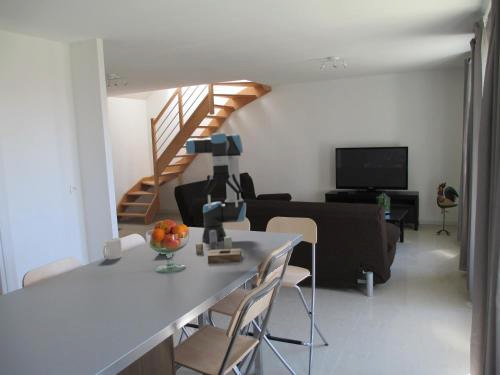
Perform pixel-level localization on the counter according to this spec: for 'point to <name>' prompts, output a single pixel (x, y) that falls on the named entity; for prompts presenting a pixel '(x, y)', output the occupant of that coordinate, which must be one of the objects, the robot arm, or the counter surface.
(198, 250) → the short pin
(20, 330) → the counter surface
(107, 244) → the cup
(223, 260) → the hole board
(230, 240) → the medium pin
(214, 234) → the long pin
